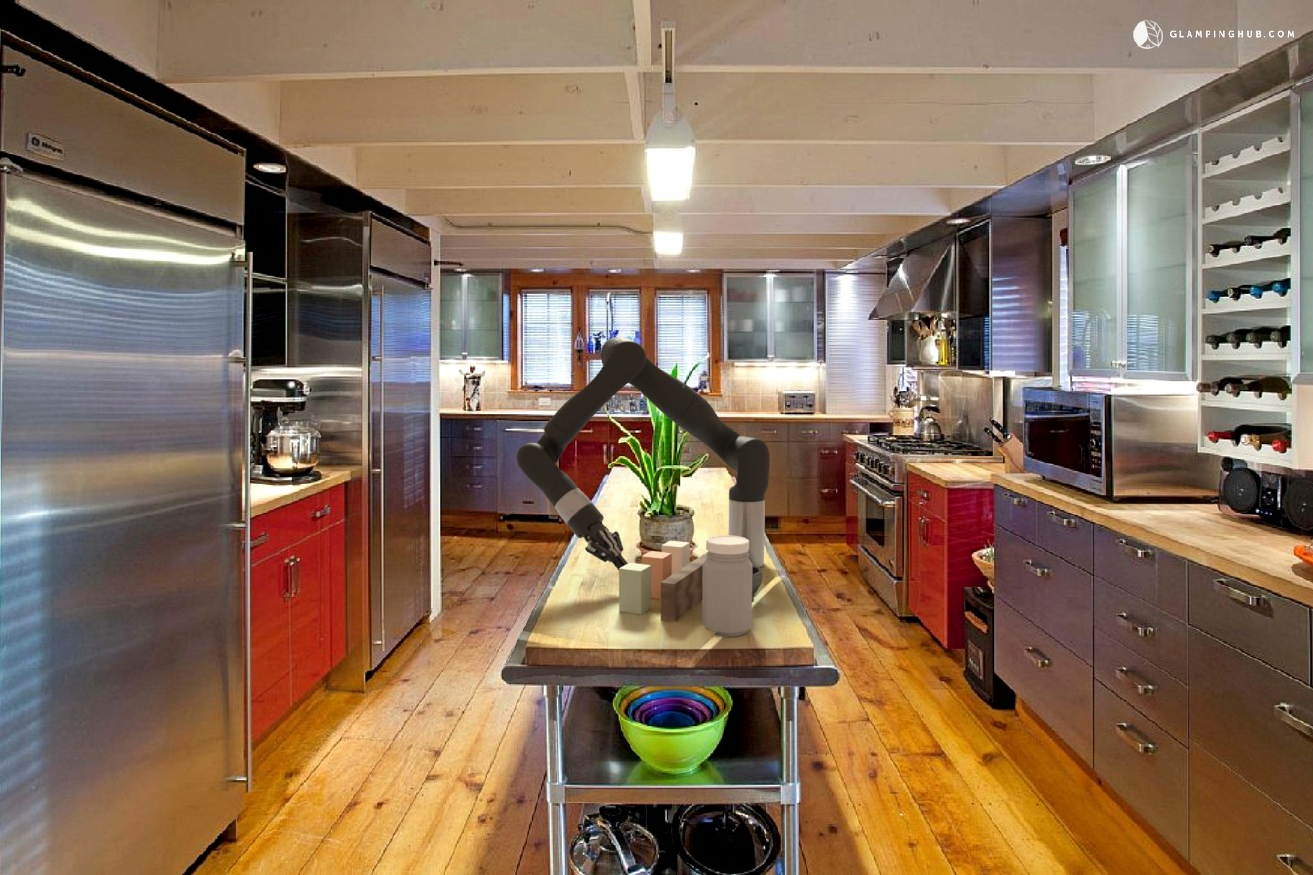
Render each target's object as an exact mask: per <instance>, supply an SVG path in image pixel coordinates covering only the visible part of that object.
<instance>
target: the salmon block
mask: <svg viewBox="0 0 1313 875" xmlns="http://www.w3.org/2000/svg"><path fill="white" fill-rule="evenodd" d="M641 564H645V565H651V599H657V600H658V599H659V600H661V582H662V581H664V580H665V579H667V578H668V577H670V576H671V575H672V553H664V552H662V551H654V550H651V551H648V552H646V553H644V554H643V555H642V556H641Z"/></svg>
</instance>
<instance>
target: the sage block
mask: <svg viewBox="0 0 1313 875" xmlns="http://www.w3.org/2000/svg"><path fill="white" fill-rule="evenodd" d="M627 563H628V564H626V565H624V566H623V567H621V568H619V570H618V611H619V612H621V613H622V612H623V613H628V614H634V615H643V614H644V613H645V612H647V611H648V610H650V609H651V608H652V598H651V565H645V564H642V563H636V562H627Z"/></svg>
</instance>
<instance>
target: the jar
mask: <svg viewBox="0 0 1313 875" xmlns="http://www.w3.org/2000/svg"><path fill="white" fill-rule="evenodd" d="M705 543H706V544H705V548H706V549H705V550H707V554H706V556H707V559H706V560H705V561H704V563H703V573H702V601H701V603H702V604H701V611H702V612H701V616H702V617H701V622H702V623H701V625H703V626H704V627H705V628H706V629H709V630H712V631H715V632H716V633H715V634H714V636H717V637H725V638H726V637H727V638H734V637H740V636H742V635H746V634H747V633H748V632H749V630H750V629H751V628H752V624H753V623H752V622H753V620H752V619H753V618H752V617H753V616H752V615H753V602H752V598H753V596H752V563H751V561H750V560H749V559H748V557H749V554H748V553H747V552H748V550H749V540H748V539H746V538H744V537H739V536H729V534H728V535H726V534H724V535H723V534H722V535H715V536H714V535H713V536H711V537H708V538H707V539H706V541H705Z"/></svg>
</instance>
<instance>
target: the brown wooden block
mask: <svg viewBox="0 0 1313 875" xmlns="http://www.w3.org/2000/svg"><path fill="white" fill-rule="evenodd" d="M707 552H708V551H707ZM707 552H705V553H704V554H702V555H701V556H699V557H697V558H696V559H695V560H693V561H690V564H688V565H687V566H685V567H683V568H682V569H680V570H679V571H677V572H676V573H674V574H673V575H671V576H670V577H668V578H667V579H665V580H664V581H662V582H661V599H660V621H663V622H671V623H676V622H678V620H680V619H681V618H682V617H684V616H685V615H686V614H687V613H688V612H689V611H691V610H693V608H695V607H696V606H697V605H698V604H700V603H702V573H703V563H704V561H705V560H706V559H707V556H706V554H707Z"/></svg>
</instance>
